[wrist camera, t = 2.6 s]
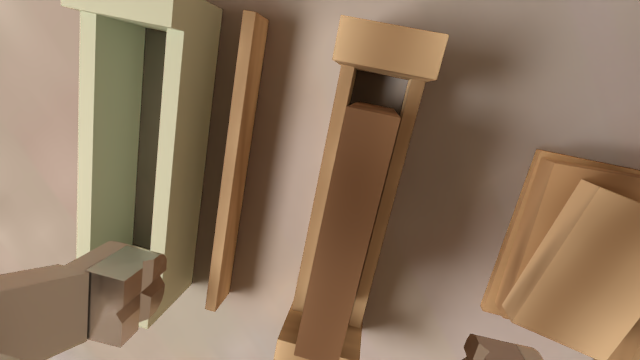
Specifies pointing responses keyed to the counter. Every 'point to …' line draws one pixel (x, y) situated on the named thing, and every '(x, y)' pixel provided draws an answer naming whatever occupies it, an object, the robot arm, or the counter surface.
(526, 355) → the robot arm
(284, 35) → the counter surface
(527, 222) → the offcut slab
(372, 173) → the walnut sheet
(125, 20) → the stand
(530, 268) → the offcut slab
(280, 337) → the rack
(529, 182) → the offcut slab
